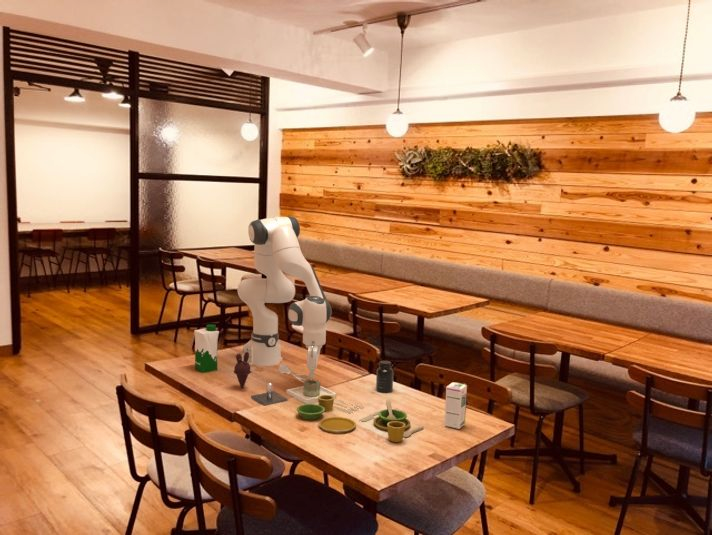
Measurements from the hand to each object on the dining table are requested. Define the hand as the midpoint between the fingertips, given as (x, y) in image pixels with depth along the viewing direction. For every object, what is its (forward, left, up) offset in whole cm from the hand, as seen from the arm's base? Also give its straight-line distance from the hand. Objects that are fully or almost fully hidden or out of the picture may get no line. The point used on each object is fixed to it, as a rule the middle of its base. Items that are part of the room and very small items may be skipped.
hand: (312, 372), depth 235 cm
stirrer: (-21, +6, -10) cm, 23 cm away
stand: (-5, -17, -9) cm, 20 cm away
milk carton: (-49, -22, -9) cm, 55 cm away
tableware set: (+31, -2, -10) cm, 33 cm away
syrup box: (+51, +25, -9) cm, 58 cm away
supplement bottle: (+11, +28, -9) cm, 32 cm away
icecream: (-21, -20, -9) cm, 30 cm away
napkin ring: (0, -1, -9) cm, 9 cm away
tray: (0, -1, -9) cm, 9 cm away
